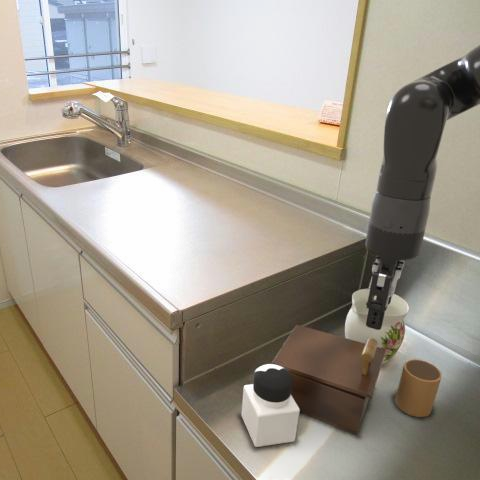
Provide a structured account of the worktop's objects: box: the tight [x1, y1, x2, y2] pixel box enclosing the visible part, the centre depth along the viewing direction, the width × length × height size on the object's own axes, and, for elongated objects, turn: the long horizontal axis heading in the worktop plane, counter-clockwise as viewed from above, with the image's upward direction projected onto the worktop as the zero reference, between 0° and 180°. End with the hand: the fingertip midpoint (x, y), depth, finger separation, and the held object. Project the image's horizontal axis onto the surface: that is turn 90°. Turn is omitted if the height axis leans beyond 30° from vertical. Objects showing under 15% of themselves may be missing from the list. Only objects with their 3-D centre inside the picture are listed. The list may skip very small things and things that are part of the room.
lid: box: [271, 324, 386, 400], centre depth 80 cm, size 16×14×5 cm
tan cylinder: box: [394, 358, 443, 418], centre depth 80 cm, size 6×6×8 cm
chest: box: [288, 371, 370, 436], centre depth 83 cm, size 16×14×8 cm
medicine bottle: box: [241, 363, 301, 448], centre depth 75 cm, size 7×7×12 cm
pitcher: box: [344, 288, 410, 365], centre depth 92 cm, size 11×18×14 cm, turn 122°
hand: (378, 314), depth 73 cm, fingers open, 8 cm apart
